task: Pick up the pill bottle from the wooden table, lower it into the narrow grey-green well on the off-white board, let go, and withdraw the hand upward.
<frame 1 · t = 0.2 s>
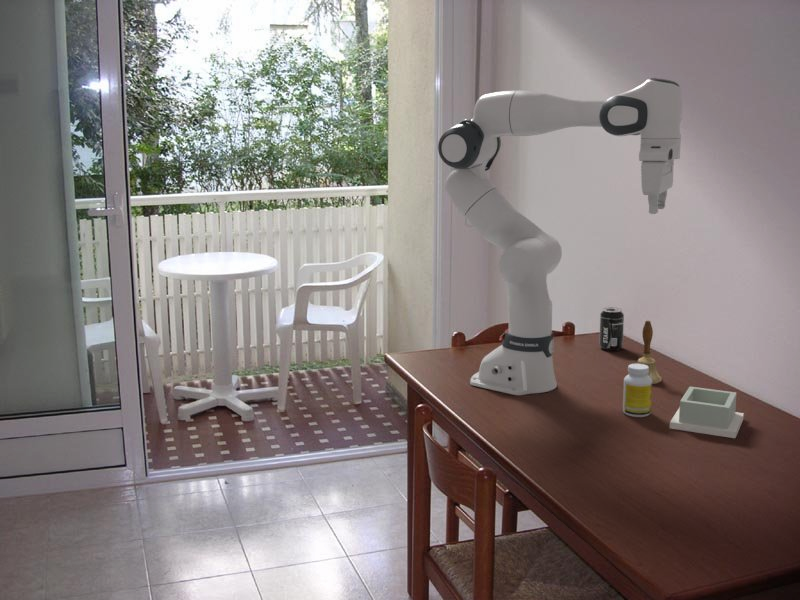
hand: (657, 211, 205), 47 cm above the table, fingers open, 8 cm apart
beverage can: (610, 349, 262), on the table
well block: (706, 423, 201), on the table
pill bottle: (636, 414, 208), on the table
hand bell: (645, 379, 233), on the table
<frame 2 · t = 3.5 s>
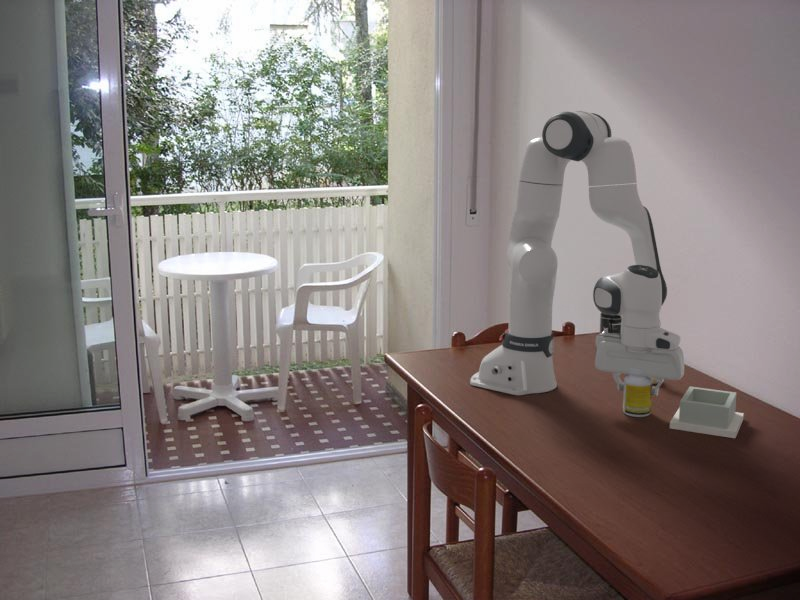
hand: (637, 392, 207), 5 cm above the table, fingers closed on pill bottle, 6 cm apart
pill bottle: (636, 414, 208), on the table, touching gripper
everything else where it was.
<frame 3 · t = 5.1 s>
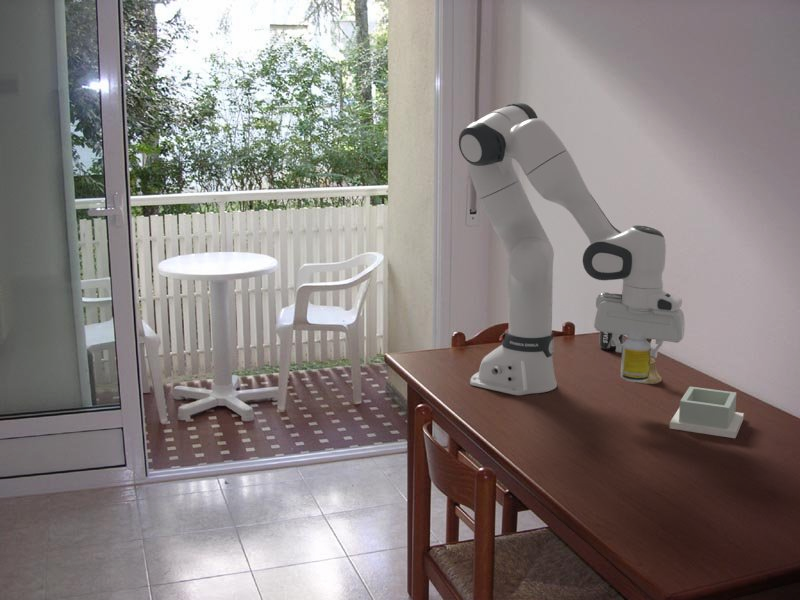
hand: (636, 354, 205), 14 cm above the table, fingers closed on pill bottle, 6 cm apart
pill bottle: (633, 379, 207), point 8 cm above the table, touching gripper
everything else where it was.
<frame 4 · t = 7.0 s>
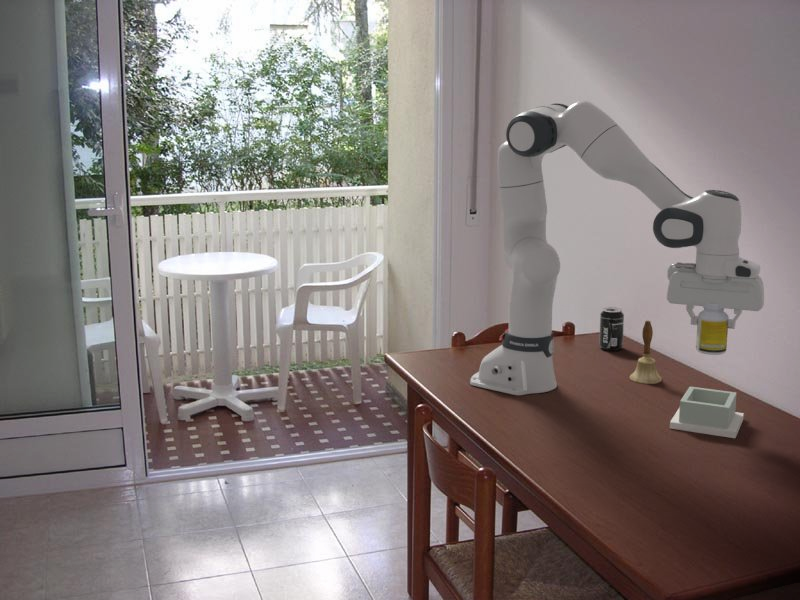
hand: (712, 326, 196), 23 cm above the table, fingers closed on pill bottle, 6 cm apart
pill bottle: (710, 352, 197), point 17 cm above the table, touching gripper
everything else where it was.
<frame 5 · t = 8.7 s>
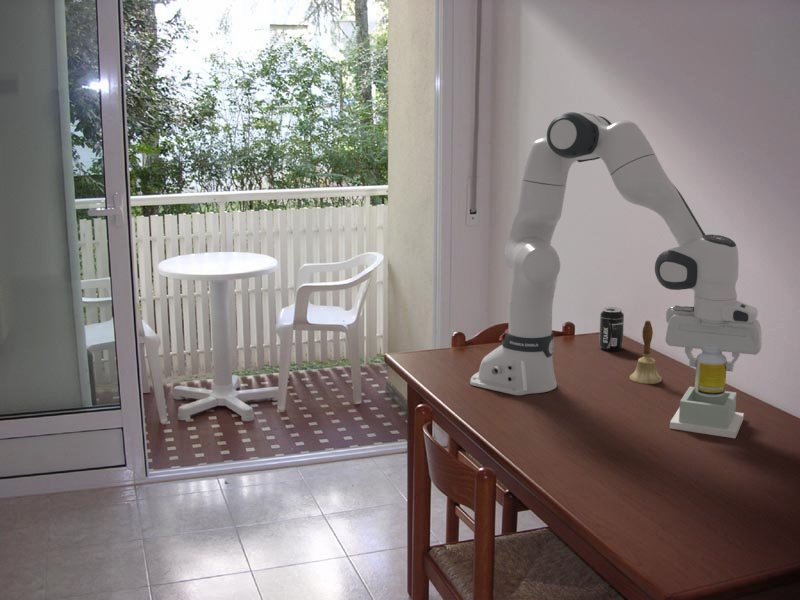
hand: (711, 368, 198), 13 cm above the table, fingers closed on pill bottle, 6 cm apart
pill bottle: (709, 394, 199), point 7 cm above the table, touching gripper
everything else where it was.
when the fingers open (9 cm above the table, at t = 10.2 s): pill bottle drops 1 cm, resting on well block.
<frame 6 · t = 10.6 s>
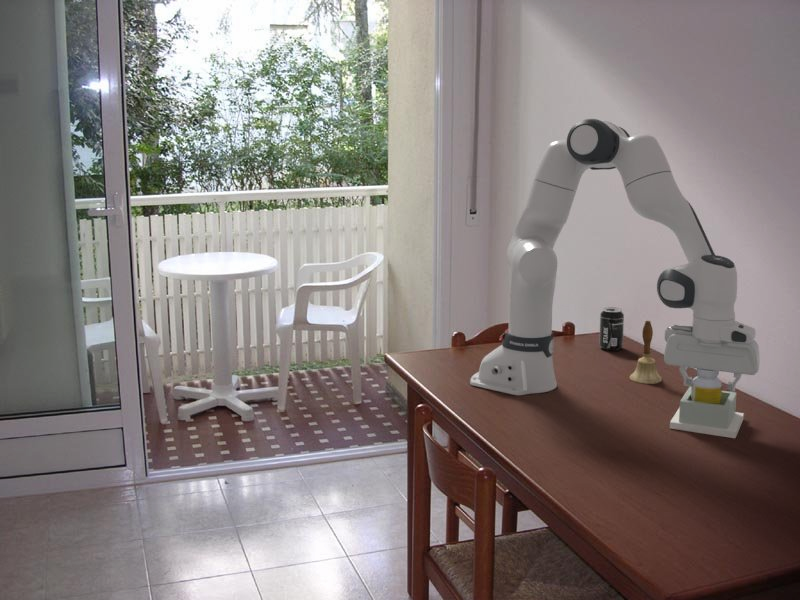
hand: (709, 387, 199), 9 cm above the table, fingers open, 8 cm apart
pill bottle: (704, 417, 201), point 1 cm above the table, touching well block
everything else where it was.
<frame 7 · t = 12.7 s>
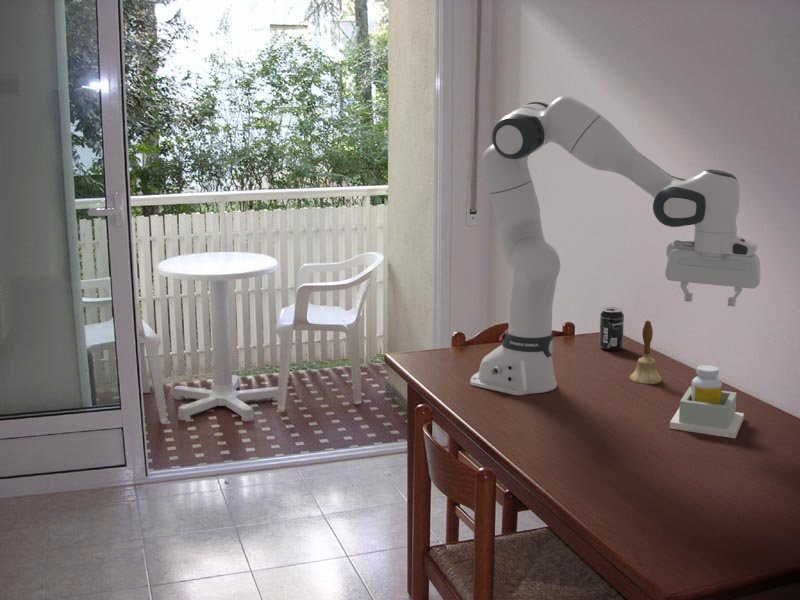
hand: (709, 303, 200), 27 cm above the table, fingers open, 8 cm apart
nothing on the table moved.
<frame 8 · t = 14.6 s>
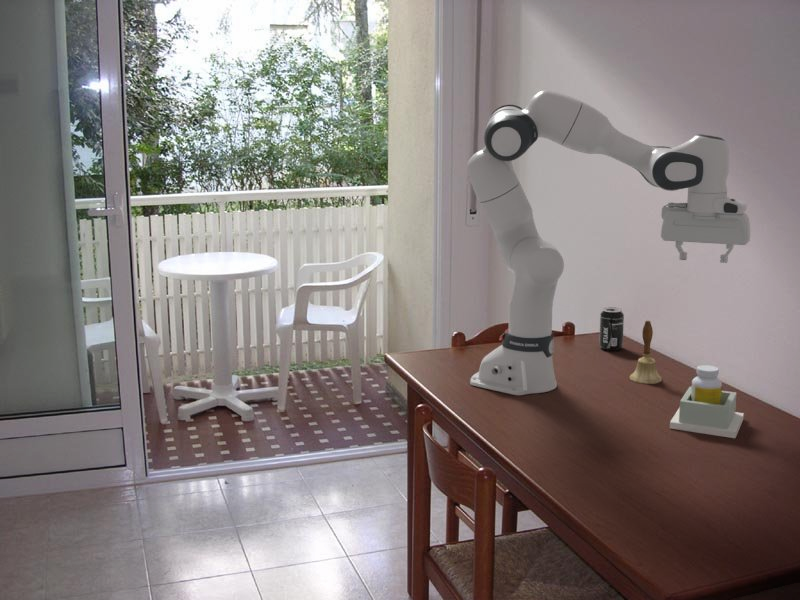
hand: (703, 261, 212), 34 cm above the table, fingers open, 8 cm apart
nothing on the table moved.
at the end: pill bottle 0.6 cm off-centre on the well block, point 1.3 cm above the well block's base; pill bottle tilted 0°; the gripper is holding nothing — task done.
